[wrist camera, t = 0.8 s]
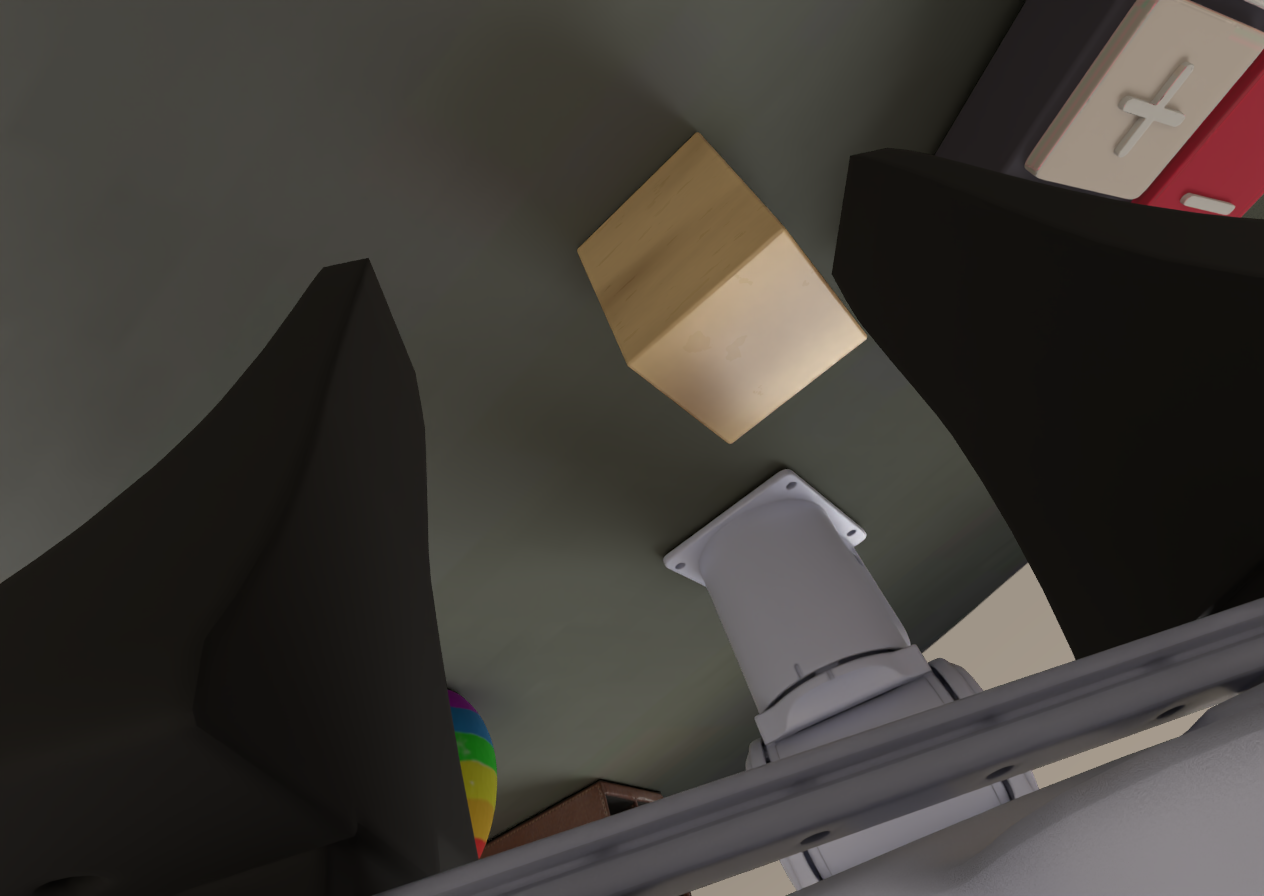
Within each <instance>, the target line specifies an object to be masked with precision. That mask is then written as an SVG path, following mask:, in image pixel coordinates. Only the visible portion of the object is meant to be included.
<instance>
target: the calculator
mask: <svg viewBox="0 0 1264 896" xmlns="http://www.w3.org/2000/svg"><path fill="white" fill-rule="evenodd" d="M934 156H938V157H942V158H946V159H950V160H954V161H958V162H962V163H966V164H969V165H973V166H977V167H981V168H985V169H988V170H992V171H996V172H1000V173H1004V174H1007V175H1011V176H1015V177H1019V178H1023V179H1027V180H1031V181H1035V182H1039V183H1043V184H1047V185H1051V186H1055V187H1059V188H1063V189H1068V190H1073V191H1077V192H1082V193H1086V194H1091V195H1096V196H1100V197H1105V198H1109V199H1115V200H1120V201H1125V202H1131V203H1136V204H1142V205H1149V206H1156V207H1162V208H1169V209H1176V210H1182V211H1189V212H1196V213H1203V214H1212V215H1221V216H1230V217H1240V218H1241V217H1242V216H1243V215H1244V214H1245V213H1246V212H1247V211H1248V210H1249V209H1250V207H1251V206H1252V205H1253V204H1254V203H1255V202H1256V201H1257V200H1258V199H1259V198H1260V197H1261V196H1262V195H1263V194H1264V0H1026V2H1025V4H1024V5H1023V7H1022V9H1021V10H1020V12H1019V14H1018V15H1017V17H1016V19H1015V20H1014V22H1013V24H1012V25H1011V27H1010V29H1009V31H1008V32H1007V34H1006V36H1005V37H1004V39H1003V41H1002V42H1001V44H1000V46H999V47H998V49H997V51H996V52H995V54H994V56H993V57H992V59H991V61H990V63H989V64H988V66H987V68H986V69H985V71H984V73H983V74H982V76H981V78H980V79H979V81H978V83H977V84H976V86H975V88H974V89H973V91H972V93H971V94H970V96H969V98H968V100H967V101H966V103H965V105H964V106H963V108H962V110H961V111H960V113H959V115H958V116H957V118H956V120H955V121H954V123H953V125H952V126H951V128H950V130H949V132H948V133H947V135H946V137H945V138H944V140H943V142H942V143H941V145H940V147H939V148H938V150H937V152H936V153H935V155H934Z"/></svg>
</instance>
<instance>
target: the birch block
mask: <svg viewBox="0 0 1264 896" xmlns="http://www.w3.org/2000/svg"><path fill="white" fill-rule="evenodd" d="M577 252H578V255H579V257H580V259H581V261H582V264H583V266H584V268H585V270H586V273H587V275H588V277H589V279H590V282H591V284H592V286H593V288H594V291H595V293H596V295H597V298H598V300H599V302H600V304H601V307H602V309H603V311H604V313H605V316H606V318H607V320H608V322H609V325H610V327H611V329H612V332H613V334H614V336H615V338H616V341H617V343H618V345H619V347H620V350H621V352H622V354H623V356H624V359H625V361H626V363H627V365H628V366H629V367H630V368H631V369H632V370H634V371H635V372H636V373H638V374H639V375H640V376H641V377H643V378H644V379H645V380H647V381H648V382H649V383H651V384H652V385H653V386H654V387H656V388H657V389H658V390H660V391H661V392H662V393H663V394H665V395H666V396H667V397H669V398H670V399H671V400H673V401H674V402H675V403H676V404H678V405H679V406H680V407H682V408H683V409H684V410H685V411H687V412H688V413H689V414H691V415H692V416H693V417H695V418H696V419H697V420H698V421H700V422H701V423H702V424H704V425H705V426H706V427H707V428H709V429H710V430H711V431H713V432H714V433H715V434H717V435H718V436H719V437H720V438H722V439H723V440H724V441H726V442H727V443H728V444H732V443H733V442H735V441H736V440H737V439H738V438H740V437H741V436H742V435H744V434H745V433H746V432H747V431H749V430H750V429H751V428H753V427H754V426H755V425H756V424H758V423H759V422H760V421H762V420H763V419H764V418H766V417H767V416H768V415H769V414H771V413H772V412H773V411H775V410H776V409H777V408H778V407H780V406H781V405H782V404H784V403H785V402H786V401H787V400H789V399H790V398H791V397H793V396H794V395H795V394H796V393H798V392H799V391H800V390H802V389H803V388H804V387H806V386H807V385H808V384H809V383H811V382H812V381H813V380H815V379H816V378H817V377H818V376H820V375H821V374H822V373H824V372H825V371H826V370H827V369H829V368H830V367H831V366H833V365H834V364H835V363H836V362H838V361H839V360H840V359H842V358H843V357H844V356H846V355H847V354H848V353H849V352H851V351H852V350H853V349H855V348H856V347H857V346H858V345H860V344H861V343H862V342H864V341H865V340H866V339H867V334H866V333H865V332H864V331H863V329H862V328H861V327H860V325H859V324H858V323H857V321H856V320H855V319H854V317H853V316H852V315H851V313H850V312H849V311H848V310H847V308H846V307H845V306H844V304H843V303H842V302H841V300H840V299H839V298H838V296H837V295H836V294H835V292H834V291H833V290H832V289H831V287H830V286H829V285H828V283H827V282H826V281H825V279H824V278H823V277H822V275H821V274H820V273H819V271H818V270H817V269H816V268H815V266H814V265H813V264H812V262H811V261H810V260H809V258H808V257H807V256H806V254H805V253H804V252H803V250H802V249H801V248H800V247H799V245H798V244H797V243H796V241H795V240H794V239H793V237H792V236H791V235H790V233H789V232H788V231H787V229H786V228H785V227H784V226H783V225H782V224H781V223H780V221H779V220H778V219H777V218H776V217H775V216H774V215H773V214H772V213H771V211H770V210H769V209H768V208H767V207H766V206H765V205H764V204H763V203H762V201H761V200H760V199H759V198H758V197H757V196H756V195H755V194H754V193H753V191H752V190H751V189H750V188H749V187H748V186H747V185H746V184H745V183H744V181H743V180H742V179H741V178H740V177H739V176H738V175H737V174H736V173H735V171H734V170H733V169H732V168H731V167H730V166H729V165H728V164H727V163H726V161H725V160H724V159H723V158H722V157H721V156H720V155H719V154H718V153H717V152H716V150H715V149H714V148H713V147H712V146H711V145H710V144H709V143H708V142H707V140H706V139H705V138H704V137H703V136H702V135H701V134H700V133H698V132H697V133H695V134H694V135H693V136H692V137H691V138H690V139H689V140H688V141H687V142H686V143H685V144H684V145H683V146H682V147H681V148H680V149H679V150H678V151H677V152H676V153H675V154H674V155H673V156H672V157H671V158H670V159H669V160H668V161H666V162H665V163H664V164H663V165H662V166H661V167H660V168H659V169H658V170H657V171H656V172H655V173H654V174H653V175H652V176H651V177H650V178H649V179H648V180H647V181H646V182H645V183H644V184H643V185H642V186H641V187H640V188H639V189H638V190H637V191H636V192H635V193H634V194H633V195H632V196H631V197H630V198H629V199H628V200H627V201H626V202H625V203H624V204H623V205H622V206H621V207H620V208H619V209H618V210H617V211H616V212H615V213H614V214H613V215H612V216H611V217H610V218H609V219H608V220H607V221H606V222H605V223H603V224H602V225H601V226H600V227H599V228H598V229H597V230H596V231H595V232H594V233H593V234H592V235H591V236H590V237H589V238H588V239H587V240H586V241H585V242H584V243H583V244H582V245H581V246H580V247H579V248H578V250H577Z"/></svg>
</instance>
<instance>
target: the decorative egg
mask: <svg viewBox="0 0 1264 896" xmlns="http://www.w3.org/2000/svg"><path fill="white" fill-rule="evenodd" d="M448 696H449V702H450V708H451V714H452V719H453V725H454V731H455V736H456V742H457V748H458V753H459V759H460V765H461V770H462V776H463V781H464V786H465V791H466V796H467V802H468V807H469V812H470V817H471V822H472V828H473V833H474V838H475V843H476V848H477V853H478V858H480V856H481V854H482V852H483V850H484V847H485V844H486V842H487V839H488V836H489V832H490V829H491V825H492V821H493V816H494V811H495V804H496V794H497V768H496V759H495V753H494V748H493V744H492V741H491V738H490V735H489V733H488V730H487V728H486V726H485V724H484V722H483V720H482V718H481V717H480V715H479V714H478V713H477V711H476V710H475V709H474V708H473V706H472V705H471V704H470V703H469V702H468V701H466V700H465V699H464V698H463V697H462V696H461V695H459V694H458V693H455V692H453V691H451V690H448Z"/></svg>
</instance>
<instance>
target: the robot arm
mask: <svg viewBox="0 0 1264 896" xmlns="http://www.w3.org/2000/svg"><path fill="white" fill-rule="evenodd" d="M832 275H833V277H834V279H835V281H836V283H837V285H838V286H839V288H840V290H841V292H842V294H843V295H844V297H845V299H846V301H847V303H848V304H849V306H850V307H851V309H852V311H853V312H854V314H855V316H856V317H857V319H858V320H859V322H860V323H861V324H862V326H863V327H864V328H865V329H866V331H867V332H868V333H869V334H870V336H871V337H872V338H873V339H874V341H875V342H876V343H877V344H878V345H879V347H880V348H881V349H882V350H883V352H884V353H885V354H886V355H887V356H888V358H889V359H890V360H891V361H892V362H893V363H894V365H895V366H896V367H897V368H898V369H899V371H900V372H901V373H902V374H903V375H904V377H905V378H906V379H907V380H908V381H909V383H910V384H911V385H912V386H913V387H914V388H915V390H916V391H917V392H918V393H919V394H920V396H921V397H922V398H923V399H924V400H925V402H926V403H927V404H928V405H929V406H930V408H931V409H932V410H933V411H934V412H935V413H936V415H937V416H938V417H939V419H940V420H941V421H942V423H943V424H944V425H945V427H946V428H947V429H948V431H949V432H950V433H951V434H952V436H953V437H954V439H955V440H956V442H957V443H958V445H959V447H960V448H961V450H962V451H963V453H964V454H965V456H966V457H967V459H968V460H969V462H970V464H971V465H972V467H973V468H974V470H975V471H976V473H977V474H978V476H979V477H980V479H981V480H982V482H983V484H984V485H985V487H986V489H987V490H988V492H989V494H990V496H991V497H992V499H993V501H994V502H995V504H996V506H997V507H998V509H999V511H1000V512H1001V514H1002V516H1003V518H1004V519H1005V521H1006V523H1007V524H1008V526H1009V528H1010V529H1011V531H1012V533H1013V535H1014V537H1015V538H1016V540H1017V542H1018V544H1019V546H1020V548H1021V550H1022V552H1023V553H1024V555H1025V557H1026V559H1027V561H1028V563H1029V565H1030V566H1031V568H1032V570H1033V572H1034V574H1035V576H1036V578H1037V580H1038V582H1039V583H1040V585H1041V587H1042V589H1043V591H1044V593H1045V595H1046V597H1047V600H1048V602H1049V604H1050V606H1051V608H1052V610H1053V612H1054V614H1055V616H1056V618H1057V621H1058V623H1059V625H1060V627H1061V629H1062V631H1063V633H1064V635H1065V637H1066V640H1067V642H1068V644H1069V646H1070V648H1071V650H1072V652H1073V654H1074V657H1075V659H1076V660H1075V661H1072V662H1069V663H1067V664H1063V665H1060V666H1057V667H1054V668H1051V669H1048V670H1045V671H1042V672H1040V673H1036V674H1034V675H1030V676H1028V677H1024V678H1021V679H1018V680H1016V681H1012V682H1009V683H1006V684H1004V685H1000V686H997V687H994V688H991V689H989V690H985V691H983V690H982V688H981V687H980V686H979V685H978V683H977V682H976V681H975V680H974V679H973V677H972V676H971V675H970V674H969V673H968V672H967V671H966V670H965V669H964V668H962V667H960V666H958V665H955V664H952V663H949V662H948V661H946V660H945V659H942V658H937V659H935V660H932V661H930V662H928V663H927V661H926V660H925V658H924V656H923V655H922V653H921V652H920V650H919V649H918V647H917V645H915V644H913V645H911V644H910V640H909V637H908V635H907V633H906V630H905V629H904V627H903V625H902V624H901V622H900V620H899V619H898V617H897V616H896V614H895V612H894V611H893V609H892V608H891V606H890V604H889V603H888V601H887V600H886V598H885V596H884V595H883V593H882V592H881V590H880V588H879V587H878V585H877V584H876V582H875V580H874V579H873V577H872V576H871V574H870V572H869V571H868V569H867V568H866V566H865V564H864V563H863V561H862V560H861V558H860V556H859V555H858V553H857V552H856V550H855V548H854V546H856V545H857V544H859V543H860V542H862V541H863V540H864V539H865V538H866V535H867V534H866V532H865V531H864V529H863V528H862V527H860V526H859V525H858V524H857V523H855V522H854V521H853V520H852V519H851V518H849V517H848V516H847V515H846V514H844V513H843V512H842V511H841V510H840V509H838V508H837V507H836V506H835V505H834V504H832V503H831V502H830V501H829V500H827V499H826V498H825V497H824V496H823V495H821V494H820V493H819V492H818V491H816V490H815V489H814V488H813V487H812V486H810V485H809V484H808V483H807V482H805V481H804V480H803V479H802V478H801V477H799V476H798V475H797V474H796V473H794V472H793V471H792V470H790V469H784V470H781V471H779V472H778V473H776V474H775V475H774V476H772V477H771V478H770V479H768V480H767V481H766V482H764V483H763V484H761V485H760V486H759V487H757V488H756V489H755V490H753V491H752V492H751V493H749V494H748V495H747V496H745V497H744V498H742V499H741V500H740V501H738V502H737V503H736V504H734V505H733V506H732V507H730V508H729V509H728V510H726V511H725V512H723V513H722V514H721V515H719V516H718V517H717V518H715V519H714V520H713V521H711V522H710V523H709V524H707V525H706V526H704V527H703V528H702V529H700V530H699V531H698V532H696V533H695V534H694V535H692V536H691V537H690V538H688V539H687V540H685V541H684V542H683V543H681V544H680V545H679V546H677V547H676V548H675V549H673V550H672V551H671V552H669V553H668V554H667V555H666V556H665V557H664V559H663V562H664V564H665V566H666V567H667V568H668V569H671V570H673V571H675V572H677V573H679V574H681V575H683V576H685V577H687V578H689V579H691V580H693V581H695V582H697V583H699V584H701V585H703V586H705V587H707V589H708V592H709V594H710V596H711V599H712V601H713V604H714V606H715V608H716V611H717V613H718V616H719V618H720V620H721V623H722V625H723V628H724V630H725V632H726V635H727V637H728V639H729V642H730V644H731V647H732V649H733V651H734V654H735V656H736V659H737V661H738V663H739V666H740V668H741V670H742V673H743V675H744V678H745V680H746V682H747V685H748V687H749V690H750V692H751V694H752V697H753V699H754V701H755V704H756V706H757V709H758V711H759V713H760V714H759V715H757V716H755V718H754V719H755V721H756V724H757V726H758V729H759V731H760V733H761V736H762V738H759V739H757V740H755V741H753V742H751V744H750V746H749V753H748V757H747V760H746V771H743V772H740V773H737V774H734V775H731V776H728V777H725V778H722V779H719V780H716V781H713V782H710V783H707V784H704V785H701V786H698V787H695V788H692V789H689V790H686V791H683V792H680V793H677V794H674V795H671V796H668V797H665V798H662V799H659V800H656V801H653V802H651V803H648V804H645V805H642V806H639V807H636V808H633V809H630V810H627V811H624V812H621V813H618V814H615V815H612V816H609V817H606V818H603V819H600V820H597V821H594V822H591V823H588V824H585V825H582V826H579V827H576V828H573V829H570V830H567V831H564V832H561V833H558V834H555V835H552V836H549V837H546V838H543V839H540V840H537V841H534V842H531V843H528V844H525V845H522V846H519V847H516V848H513V849H510V850H507V851H504V852H501V853H498V854H495V855H492V856H489V857H486V858H483V859H480V860H479V858H478V853H477V848H476V843H475V838H474V833H473V828H472V822H471V817H470V812H469V807H468V802H467V796H466V791H465V786H464V781H463V776H462V770H461V765H460V759H459V753H458V748H457V742H456V736H455V731H454V725H453V719H452V714H451V708H450V702H449V696H448V690H447V684H446V677H445V671H444V665H443V659H442V652H441V646H440V640H439V633H438V626H437V619H436V612H435V606H434V599H433V592H432V585H431V576H430V563H429V547H428V511H427V474H426V443H425V426H424V420H423V414H422V407H421V401H420V396H419V390H418V385H417V379H416V374H415V370H414V368H413V366H412V363H411V361H410V358H409V356H408V353H407V351H406V348H405V346H404V343H403V341H402V339H401V336H400V334H399V331H398V329H397V326H396V324H395V321H394V319H393V317H392V314H391V312H390V309H389V307H388V304H387V302H386V299H385V297H384V294H383V292H382V290H381V287H380V285H379V282H378V280H377V277H376V275H375V272H374V270H373V267H372V265H371V263H370V260H369V258H366V259H361V260H356V261H351V262H347V263H342V264H337V265H333V266H328V267H323V269H322V270H321V271H320V272H319V273H318V275H317V276H316V277H315V278H314V280H313V281H312V283H311V284H310V285H309V287H308V288H307V290H306V291H305V292H304V294H303V295H302V297H301V298H300V300H299V301H298V302H297V304H296V305H295V307H294V308H293V310H292V311H291V312H290V314H289V315H288V317H287V318H286V319H285V321H284V322H283V323H282V325H281V326H280V327H279V329H278V330H277V332H276V333H275V334H274V336H273V337H272V338H271V340H270V341H269V342H268V344H267V345H266V347H265V348H264V349H263V350H262V352H261V353H260V354H259V355H258V357H257V358H256V359H255V360H254V361H253V363H252V364H251V365H250V366H249V367H248V369H247V370H246V371H245V372H244V373H243V375H242V376H241V377H240V378H239V379H238V381H237V382H236V383H235V384H234V385H233V387H232V388H231V389H230V390H229V391H228V393H227V394H226V395H225V396H224V397H223V399H222V400H221V401H220V402H219V403H218V404H217V405H216V406H215V407H214V409H213V410H212V411H211V412H210V413H209V414H208V415H207V416H206V417H205V418H204V419H203V420H202V421H201V422H200V423H199V424H198V425H197V426H196V427H195V428H194V429H193V430H192V431H191V432H190V433H189V434H188V435H187V436H186V437H185V438H184V439H183V440H182V441H181V442H180V443H179V444H178V445H177V446H176V447H175V448H173V449H172V450H171V451H170V452H169V453H168V454H167V455H166V456H165V457H164V458H163V459H162V460H161V461H160V462H158V463H157V464H156V465H155V466H154V467H153V468H152V469H151V470H149V471H148V472H147V473H146V474H144V475H143V476H142V477H141V478H140V479H138V480H137V481H136V482H135V483H134V484H132V485H131V486H130V487H129V488H127V489H126V490H125V491H124V492H123V493H121V494H120V495H119V496H118V497H116V498H115V499H114V500H113V501H112V502H110V503H109V504H108V505H107V506H106V507H104V508H103V509H102V510H101V511H99V512H98V513H97V514H96V515H95V516H93V517H92V518H91V519H90V520H88V521H87V522H86V523H85V524H83V525H82V526H81V527H79V528H78V529H77V530H75V531H74V532H73V533H71V534H70V535H69V536H67V537H66V538H65V539H63V540H62V541H60V542H59V543H58V544H56V545H55V546H54V547H52V548H51V549H49V550H48V551H47V552H45V553H44V554H43V555H41V556H40V557H38V558H37V559H36V560H34V561H33V562H31V563H30V564H28V565H27V566H25V567H24V568H22V569H21V570H20V571H18V572H17V573H15V574H14V575H12V576H11V577H9V578H8V579H6V580H5V581H3V582H2V583H1V584H0V896H679V895H682V894H685V893H688V892H690V891H693V890H696V889H699V888H701V887H705V886H707V885H710V884H713V883H716V882H719V881H721V880H724V879H727V878H730V877H733V876H736V875H738V874H741V873H744V872H747V871H750V870H752V869H755V868H758V867H760V866H764V865H766V864H769V863H772V862H775V861H778V860H780V862H781V864H782V866H783V868H784V870H785V872H786V874H787V876H788V877H789V879H790V881H791V882H792V884H793V885H794V887H795V888H796V890H797V891H796V892H793V893H791V894H789V895H786V896H1264V219H1252V218H1240V217H1230V216H1221V215H1212V214H1203V213H1196V212H1189V211H1182V210H1176V209H1169V208H1162V207H1156V206H1149V205H1142V204H1136V203H1131V202H1125V201H1120V200H1115V199H1109V198H1105V197H1100V196H1096V195H1091V194H1086V193H1082V192H1077V191H1073V190H1068V189H1063V188H1059V187H1055V186H1051V185H1047V184H1043V183H1039V182H1035V181H1031V180H1027V179H1023V178H1019V177H1015V176H1011V175H1007V174H1004V173H1000V172H996V171H992V170H988V169H985V168H981V167H977V166H973V165H969V164H966V163H962V162H958V161H954V160H950V159H946V158H942V157H938V156H933V155H929V154H924V153H920V152H914V151H909V150H902V149H893V148H885V149H880V150H876V151H871V152H866V153H861V154H857V155H852V156H850V161H849V167H848V174H847V180H846V186H845V193H844V199H843V206H842V212H841V218H840V225H839V231H838V237H837V244H836V250H835V256H834V263H833V269H832ZM1217 704H1218V705H1217ZM1214 705H1216V706H1214ZM1211 706H1214V707H1212V708H1210V709H1208V710H1207V711H1206V712H1205V713H1204V714H1203V715H1202V717H1200V718H1199V719H1198V720H1197V722H1196V723H1195V724H1194V725H1193V726H1192V727H1191V728H1190V729H1189V730H1188V731H1187V732H1185V733H1184V734H1183V735H1181V736H1180V737H1177V738H1174V739H1171V740H1169V741H1166V742H1163V743H1160V744H1157V745H1155V746H1152V747H1149V748H1146V749H1144V750H1141V751H1138V752H1136V753H1132V754H1130V755H1127V756H1124V757H1121V758H1119V759H1117V760H1114V761H1111V762H1109V763H1106V764H1104V765H1101V766H1098V767H1096V768H1093V769H1091V770H1088V771H1086V772H1083V773H1080V774H1078V775H1075V776H1073V777H1070V778H1067V779H1065V780H1062V781H1060V782H1057V783H1055V784H1052V785H1049V786H1047V787H1044V788H1042V789H1039V788H1038V785H1037V782H1036V780H1035V778H1034V775H1033V773H1032V770H1034V769H1036V768H1039V767H1042V766H1045V765H1048V764H1051V763H1054V762H1056V761H1059V760H1062V759H1065V758H1068V757H1070V756H1073V755H1076V754H1079V753H1081V752H1084V751H1087V750H1090V749H1093V748H1096V747H1098V746H1101V745H1104V744H1107V743H1110V742H1113V741H1115V740H1118V739H1121V738H1124V737H1127V736H1130V735H1132V734H1135V733H1138V732H1141V731H1143V730H1146V729H1149V728H1152V727H1155V726H1158V725H1160V724H1163V723H1166V722H1169V721H1172V720H1175V719H1177V718H1180V717H1183V716H1185V715H1188V714H1191V713H1194V712H1197V711H1200V710H1203V709H1205V708H1208V707H1211Z"/></svg>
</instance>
